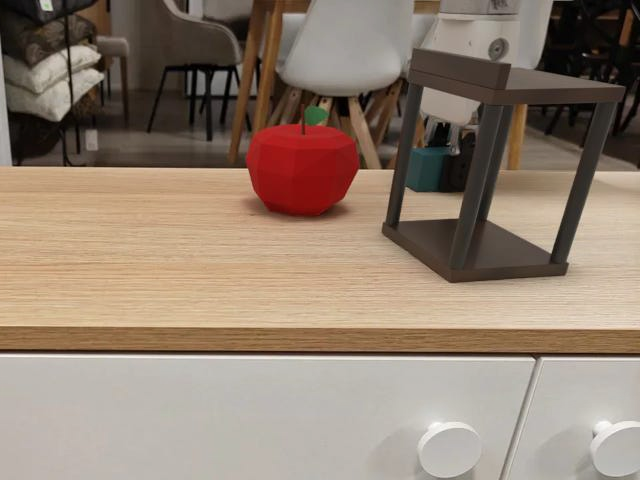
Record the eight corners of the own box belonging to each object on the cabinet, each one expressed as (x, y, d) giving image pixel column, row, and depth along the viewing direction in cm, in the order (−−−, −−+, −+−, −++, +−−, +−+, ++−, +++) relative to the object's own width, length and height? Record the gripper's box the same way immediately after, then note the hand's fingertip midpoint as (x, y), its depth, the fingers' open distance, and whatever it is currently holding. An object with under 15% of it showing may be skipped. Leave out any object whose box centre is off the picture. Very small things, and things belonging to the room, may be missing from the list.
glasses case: (465, 180, 79) (472, 145, 77) (482, 189, 75) (491, 152, 73) (401, 183, 77) (407, 147, 75) (416, 192, 74) (423, 155, 72)
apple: (225, 199, 71) (230, 99, 66) (306, 187, 76) (317, 93, 71) (284, 228, 63) (295, 117, 58) (371, 213, 67) (388, 108, 62)
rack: (479, 227, 64) (524, 46, 56) (566, 274, 54) (634, 61, 46) (380, 232, 62) (412, 47, 55) (449, 282, 52) (501, 63, 44)
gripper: (570, 5, 61) (516, 205, 70) (468, 0, 75) (434, 166, 84) (494, 6, 60) (450, 208, 69) (405, 0, 74) (378, 169, 83)
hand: (441, 183), depth 76 cm, fingers closed on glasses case, 3 cm apart
